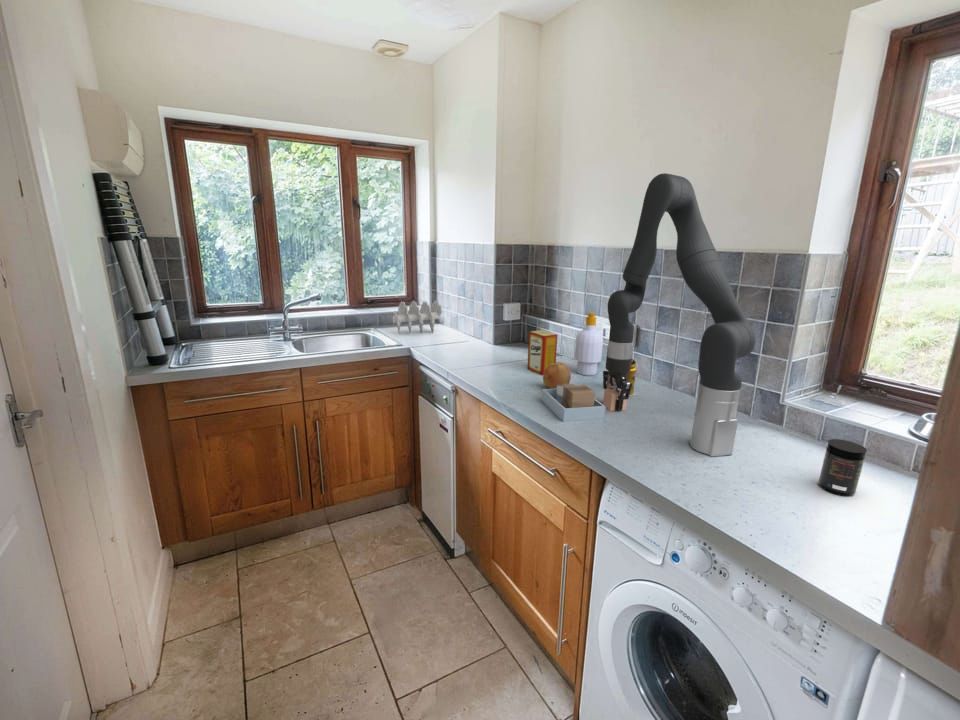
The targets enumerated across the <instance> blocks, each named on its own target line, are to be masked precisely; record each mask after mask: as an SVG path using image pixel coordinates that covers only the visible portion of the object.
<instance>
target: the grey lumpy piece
mask: <svg viewBox="0 0 960 720" xmlns="http://www.w3.org/2000/svg"><path fill="white" fill-rule="evenodd" d="M417 303H418V302H417V301H415V300H412V302H411V303H409V308H408V306H406V303H405V301H400V303H399V304H398V308H397V312H396V311H394V315H392V323H393V324H396V327H397V332H398V334H399V335H401V326H402V325H403V324H404V323H407V327H408V332H409V333H410V334H412V325H413V324H414V322H419V323H418V324H419V325H418V327H419V331H420V333H421V334H424V333H423V332H424V327H423V325H425V321H429V328H430V331H431V333H434V331H435V324H436V322H435V321H436V320H440V318H441V317H440V316H441V314H443V308H442V304H440V303H439V300H434V302H432V304H431V305H430V304H428V301H427V300H425V301H422V303H421V305H420V307H419V306H418V304H417Z"/></svg>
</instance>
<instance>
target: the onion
mask: <svg viewBox="0 0 960 720" xmlns="http://www.w3.org/2000/svg"><path fill="white" fill-rule="evenodd" d="M571 375H572V374H571V372H570V369H569V367H568V366H567V365H566V364H564V363H563V362H560V361H559V362H557V361H556V363H553V364H551V365H549V366H548V367H547V368H546V369H545V371H544V374H543V375H542V380H543V383H544V386H545V387H546V388H547V389H555V388H557V385H558V384H563V383H567V384H570V381H571V377H572V376H571Z"/></svg>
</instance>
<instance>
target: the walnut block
mask: <svg viewBox="0 0 960 720" xmlns="http://www.w3.org/2000/svg"><path fill="white" fill-rule="evenodd" d="M594 399H596V392H595V391H594V390H593V389H591V388H590V387H589V386H587V385H585V384H576V385H575V384H573V385H571V386H563V398H562V406H563V407H564V408H579V407H593V406H594Z"/></svg>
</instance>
